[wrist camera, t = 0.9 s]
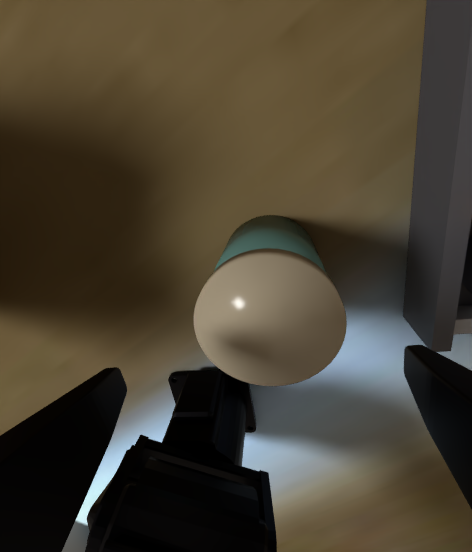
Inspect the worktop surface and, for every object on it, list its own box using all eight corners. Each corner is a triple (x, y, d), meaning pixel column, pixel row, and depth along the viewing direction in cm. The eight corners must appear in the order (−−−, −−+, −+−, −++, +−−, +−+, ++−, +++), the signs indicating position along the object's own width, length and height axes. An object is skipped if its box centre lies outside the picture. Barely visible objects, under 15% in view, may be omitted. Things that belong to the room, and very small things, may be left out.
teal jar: (319, 298, 20) (347, 383, 12) (231, 305, 21) (209, 388, 14) (315, 207, 17) (345, 247, 10) (215, 220, 18) (178, 265, 11)
